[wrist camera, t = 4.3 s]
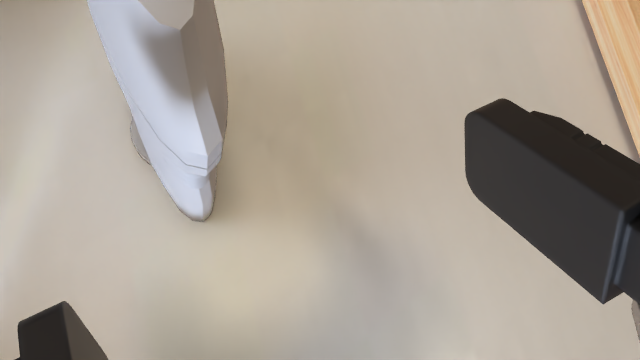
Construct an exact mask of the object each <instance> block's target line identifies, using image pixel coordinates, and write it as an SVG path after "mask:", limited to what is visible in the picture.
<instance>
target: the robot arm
mask: <svg viewBox="0 0 640 360" xmlns="http://www.w3.org/2000/svg"><path fill="white" fill-rule="evenodd" d="M465 171H466V178H467V181H468V184H469V186H470V188H471V190H472V192H473V193H474V194H475V196H476V197H477V198H478V199H479V200H480V201H481V202H482V203H483V204H484V205H486V206H487V207H488V208H489V209H490V210H492V211H493V212H494V213H495V214H496V215H498V216H499V217H500V218H501V219H502V220H504V221H505V222H506V223H507V224H508V225H509V226H511V227H512V228H513V229H514V230H515V231H517V232H518V233H519V234H520V235H521V236H523V237H524V238H525V239H526V240H527V241H528V242H530V243H531V244H532V245H533V246H534V247H536V248H537V249H538V250H539V251H540V252H542V253H543V254H544V255H545V256H546V257H547V258H549V259H550V260H551V261H552V262H553V263H555V264H556V265H557V266H558V267H559V268H561V269H562V270H563V271H564V272H565V273H566V274H568V275H569V276H570V277H571V278H572V279H574V280H575V281H576V282H577V283H578V284H580V285H581V286H582V287H583V288H584V289H585V290H587V291H588V292H589V293H590V294H591V295H593V296H594V297H595V298H596V299H597V300H599V301H600V302H601V303H602V304H605V303H606V302H608V301H609V300H611V299H613V298H614V297H616V296H618V295H619V294H621V293H623V292H625V293H626V294H627V295H629V296H630V297H631V298H632V299H633V301H632V308H631V309H632V315H633V319H634V322H635V326H636V330H637V334H638V338H639V342H640V164H638V163H637V162H635V161H633V160H631V159H630V158H628V157H626V156H625V155H623V154H621V153H620V152H618V151H616V150H614V149H613V148H611V147H609V146H608V145H606V144H605V145H602V144H601V141H599V140H597V139H596V138H594V137H592V136H591V135H589V134H586V135H585V134H584V133H583V131H582V130H581V129H579V128H577V127H575V126H574V125H572V124H570V123H569V122H567V121H565V120H564V119H562V118H559V117H555V116H551V115H548V114H544V113H540V112H537V111H532V112H530V113H529V112H528V111H526V110H524V109H523V108H521V107H519V106H518V105H516V104H514V103H513V102H511V101H509V100H507V99H502V98H501V99H498V100H496V101H494V102H492V103H489V104H487V105H485V106H483V107H481V108H479V109H477V110H475V111H472V112H470V113H469V114H468V115H467V116H466V118H465ZM18 339H19V350H20V357H19V358H17V359H15V360H108V358H107V356H106V355H105V353H104V352H103V350H102V349H101V347H100V346H99V345H98V343H97V342H96V340H95V339H94V338H93V336H92V335H91V333H90V332H89V331H88V329H87V328H86V327H85V325H84V324H83V322H82V321H81V320H80V318H79V317H78V315H77V314H76V313H75V311H74V310H73V309H72V307H71V306H70V305H69V304H68V303H67V302H65V301H63V302H61V303H59V304H57V305H54V306H52V307H50V308H48V309H46V310H44V311H42V312H40V313H37V314H35V315H33V316H31V317H29V318H27V319H25V320H22V321H20V322H19V324H18Z"/></svg>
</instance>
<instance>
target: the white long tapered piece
mask: <svg viewBox="0 0 640 360" xmlns="http://www.w3.org/2000/svg"><path fill="white" fill-rule="evenodd" d="M87 3H88V6H89V9H90V13H91V16H92V18H93V21H94V23H95V26H96V29H97V31H98V34H99V36H100V39H101V42H102V44H103V47H104V49H105V52H106V55H107V57H108V60H109V63H110V65H111V68H112V70H113V72H114V74H115V76H116V79H117V81H118V83H119V85H120V87H121V90H122V92H123V94H124V96H125V98H126V100H127V103H128V105H129V107H130V110H131V113H132V121H131V127H130V131H131V137H132V142H133V144H134V146H135V148H136V149H137V151H138V153H139V155H140V156H141V157H142V158H143V159H144V160H145V161H146V162H147V163H148V164H150V165H152V166H153V168H154V169H155V171H156V173H157V175H158V177H159V178H160V180H161V182H162V184H163V186H164V187H165V189H166V190H167V192H168V193H169V195H170V196H171V198H172V199H173V201H174V202H175V204H176V205H177V207H178V208H179V210H180V211H181V212H183V213H184V214H185V215H186V216H188V217H189V218H190V219H191V220H194V221H202V222H203V221H204V220H205V219H206V218H207V217H208V216H209V215H210V214H211V211H212V207H213V203H214V199H215V190H216V179H217V169H216V165H217V164H218V163H219V161H220V160H221V155H222V149H223V143H224V138H225V132H226V126H227V109H228V96H227V84H226V71H225V59H224V48H223V43H222V38H221V34H220V29H219V24H218V19H217V14H216V10H215V5H214V0H87Z"/></svg>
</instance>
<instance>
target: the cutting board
mask: <svg viewBox="0 0 640 360" xmlns="http://www.w3.org/2000/svg"><path fill="white" fill-rule="evenodd" d="M582 2H583V5H584V7H585V10H586V13H587V16H588V18H589V21H590V24H591V26H592V29H593V32H594V34H595V37H596V40H597V43H598V45H599V48H600V51H601V53H602V56H603V59H604V62H605V64H606V67H607V70H608V72H609V75H610V78H611V80H612V83H613V86H614V89H615V91H616V94H617V97H618V99H619V102H620V105H621V108H622V110H623V113H624V116H625V118H626V121H627V124H628V126H629V129H630V132H631V135H632V137H633V140H634V143H635V145H636V148H637V151H638V154H639V156H640V0H582Z"/></svg>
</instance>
